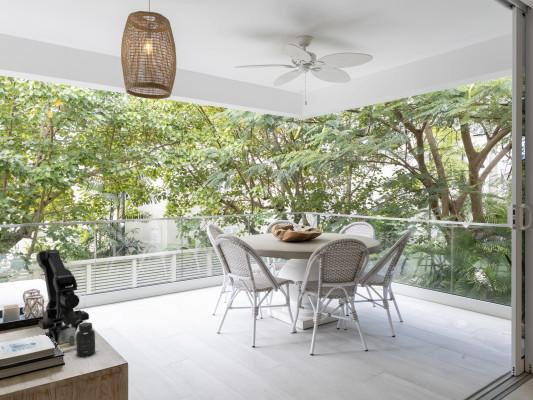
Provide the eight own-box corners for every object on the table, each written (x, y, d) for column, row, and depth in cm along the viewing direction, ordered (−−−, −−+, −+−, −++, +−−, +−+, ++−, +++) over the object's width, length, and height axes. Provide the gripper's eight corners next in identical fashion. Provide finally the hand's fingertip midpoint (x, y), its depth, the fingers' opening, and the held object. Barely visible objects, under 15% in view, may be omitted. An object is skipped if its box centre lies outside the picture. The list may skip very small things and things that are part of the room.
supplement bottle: (77, 352, 169) (76, 322, 169) (95, 349, 172) (95, 320, 171) (75, 358, 163) (75, 327, 163) (95, 356, 165) (94, 325, 165)
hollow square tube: (53, 342, 179) (53, 327, 179) (69, 338, 184) (69, 324, 184) (59, 346, 175) (59, 331, 175) (75, 342, 179) (75, 327, 179)
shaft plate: (56, 348, 173) (55, 336, 173) (80, 341, 180) (80, 330, 180) (62, 353, 168) (62, 341, 168) (87, 346, 175) (87, 334, 175)
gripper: (47, 312, 166) (48, 351, 167) (94, 302, 180) (94, 338, 181) (37, 306, 174) (38, 343, 175) (83, 297, 188) (83, 332, 188)
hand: (64, 339), depth 179 cm, fingers closed on hollow square tube, 6 cm apart
